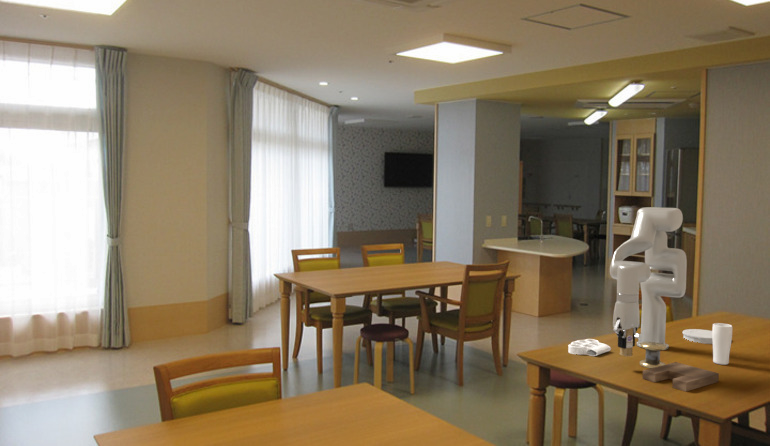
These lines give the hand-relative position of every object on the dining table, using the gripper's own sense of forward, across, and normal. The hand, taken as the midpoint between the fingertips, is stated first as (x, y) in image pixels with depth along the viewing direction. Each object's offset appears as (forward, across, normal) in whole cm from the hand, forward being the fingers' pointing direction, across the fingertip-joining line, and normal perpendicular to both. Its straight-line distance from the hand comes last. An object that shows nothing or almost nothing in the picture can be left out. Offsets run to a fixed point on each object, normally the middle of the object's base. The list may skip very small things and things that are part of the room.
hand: (626, 346), depth 228 cm
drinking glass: (+10, -39, +14) cm, 43 cm away
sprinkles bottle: (+4, 0, 0) cm, 4 cm away
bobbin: (+9, -13, +2) cm, 16 cm away
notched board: (+9, -5, +18) cm, 21 cm away
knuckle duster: (+10, -9, -25) cm, 28 cm away
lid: (+11, -72, -10) cm, 74 cm away
